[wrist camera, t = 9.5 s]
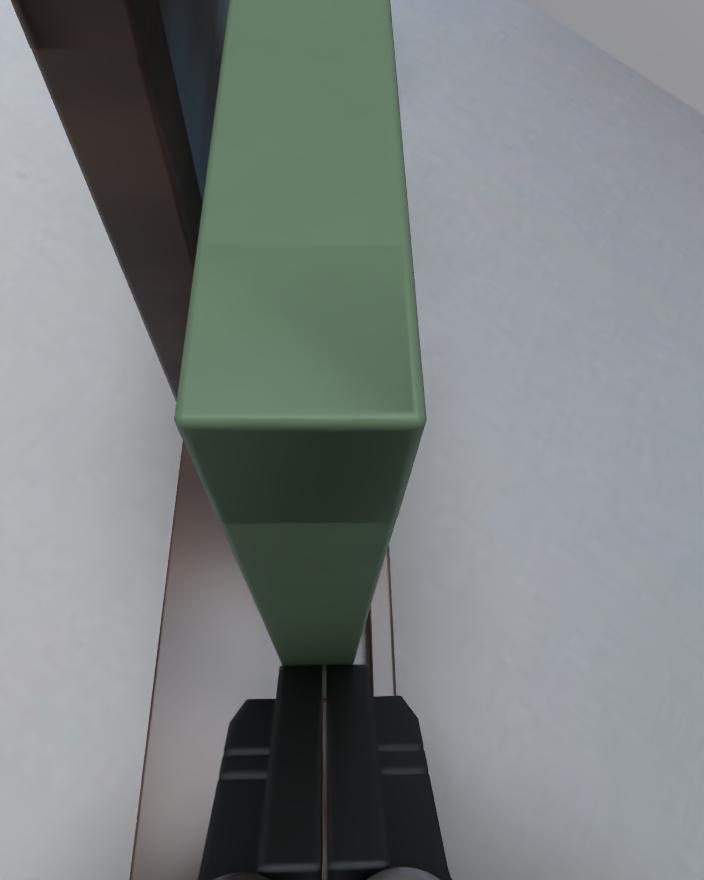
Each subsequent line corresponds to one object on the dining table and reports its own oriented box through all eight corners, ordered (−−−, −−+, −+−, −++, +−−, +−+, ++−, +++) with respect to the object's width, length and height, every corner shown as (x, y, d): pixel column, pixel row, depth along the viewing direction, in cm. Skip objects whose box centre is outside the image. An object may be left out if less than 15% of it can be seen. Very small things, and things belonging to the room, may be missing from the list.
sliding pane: (344, 698, 15) (428, 425, 3) (295, 699, 15) (169, 424, 3) (339, 315, 21) (361, -341, 8) (304, 315, 21) (273, -345, 8)
